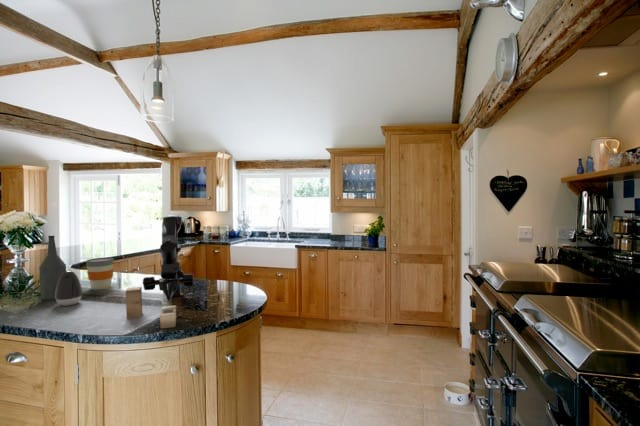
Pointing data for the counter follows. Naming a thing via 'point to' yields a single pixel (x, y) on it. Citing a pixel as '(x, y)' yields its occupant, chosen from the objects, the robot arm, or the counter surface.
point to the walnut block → (134, 302)
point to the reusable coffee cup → (100, 272)
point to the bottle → (50, 271)
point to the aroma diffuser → (68, 289)
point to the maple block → (168, 317)
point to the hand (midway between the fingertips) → (168, 300)
